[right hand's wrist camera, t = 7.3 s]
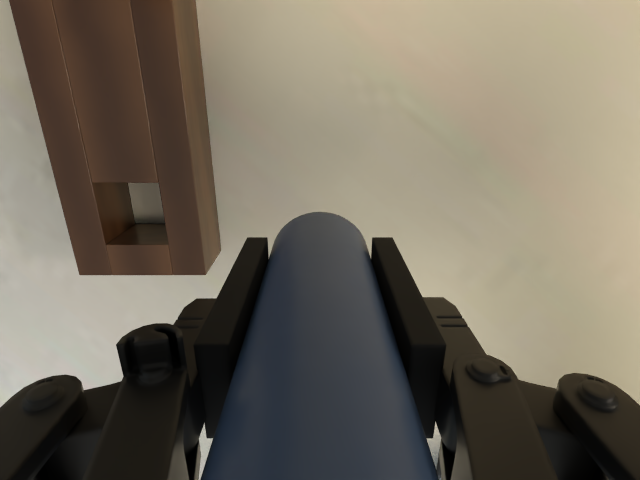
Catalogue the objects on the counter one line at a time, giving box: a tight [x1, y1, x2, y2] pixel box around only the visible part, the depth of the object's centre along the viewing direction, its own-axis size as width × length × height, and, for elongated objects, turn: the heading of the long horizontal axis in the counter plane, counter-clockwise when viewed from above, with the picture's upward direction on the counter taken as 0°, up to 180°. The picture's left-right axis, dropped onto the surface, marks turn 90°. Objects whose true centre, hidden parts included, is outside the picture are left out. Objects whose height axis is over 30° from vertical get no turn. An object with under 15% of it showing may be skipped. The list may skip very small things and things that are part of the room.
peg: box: [201, 212, 439, 480], centre depth 10 cm, size 4×4×12 cm
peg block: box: [9, 0, 221, 275], centre depth 26 cm, size 10×27×8 cm, turn 0°
